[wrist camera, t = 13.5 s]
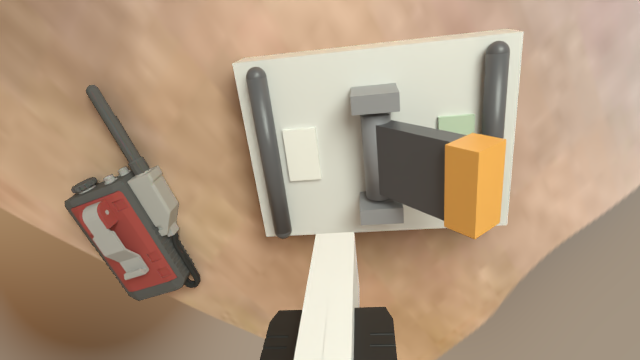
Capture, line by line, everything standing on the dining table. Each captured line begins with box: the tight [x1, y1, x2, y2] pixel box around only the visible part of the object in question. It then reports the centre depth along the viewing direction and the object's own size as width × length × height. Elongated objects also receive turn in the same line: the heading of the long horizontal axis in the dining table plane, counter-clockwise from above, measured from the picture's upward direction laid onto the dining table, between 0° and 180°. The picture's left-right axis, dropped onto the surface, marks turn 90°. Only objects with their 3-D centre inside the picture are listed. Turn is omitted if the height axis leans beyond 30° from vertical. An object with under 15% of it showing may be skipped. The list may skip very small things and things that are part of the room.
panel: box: [232, 29, 524, 239], centre depth 29 cm, size 14×19×6 cm
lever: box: [360, 112, 506, 239], centre depth 25 cm, size 6×2×10 cm
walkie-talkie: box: [65, 85, 200, 301], centre depth 35 cm, size 9×4×20 cm
